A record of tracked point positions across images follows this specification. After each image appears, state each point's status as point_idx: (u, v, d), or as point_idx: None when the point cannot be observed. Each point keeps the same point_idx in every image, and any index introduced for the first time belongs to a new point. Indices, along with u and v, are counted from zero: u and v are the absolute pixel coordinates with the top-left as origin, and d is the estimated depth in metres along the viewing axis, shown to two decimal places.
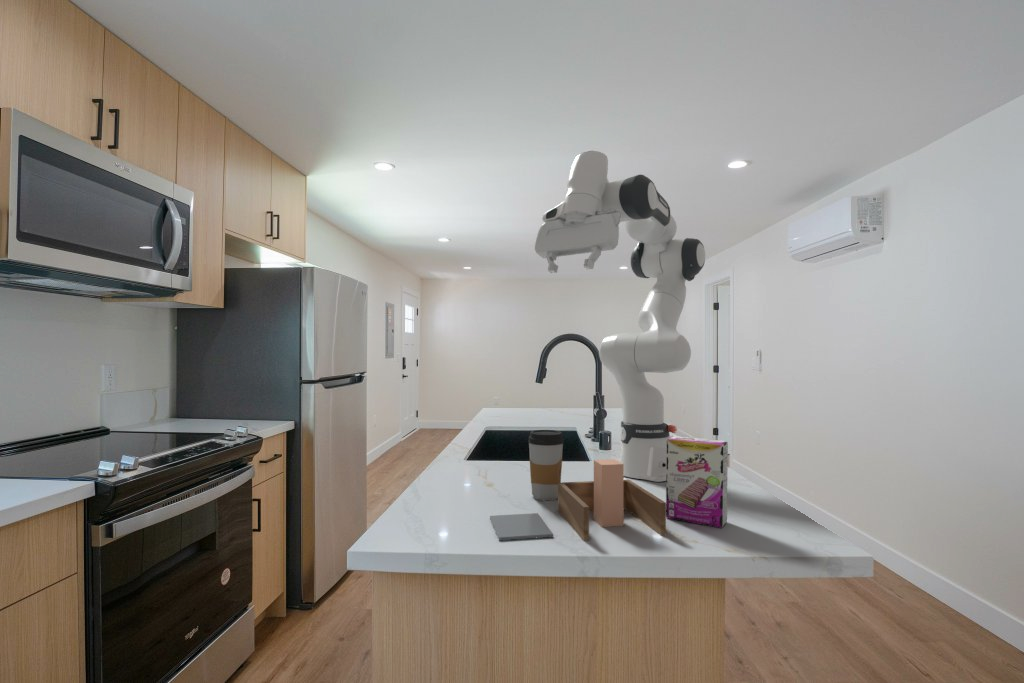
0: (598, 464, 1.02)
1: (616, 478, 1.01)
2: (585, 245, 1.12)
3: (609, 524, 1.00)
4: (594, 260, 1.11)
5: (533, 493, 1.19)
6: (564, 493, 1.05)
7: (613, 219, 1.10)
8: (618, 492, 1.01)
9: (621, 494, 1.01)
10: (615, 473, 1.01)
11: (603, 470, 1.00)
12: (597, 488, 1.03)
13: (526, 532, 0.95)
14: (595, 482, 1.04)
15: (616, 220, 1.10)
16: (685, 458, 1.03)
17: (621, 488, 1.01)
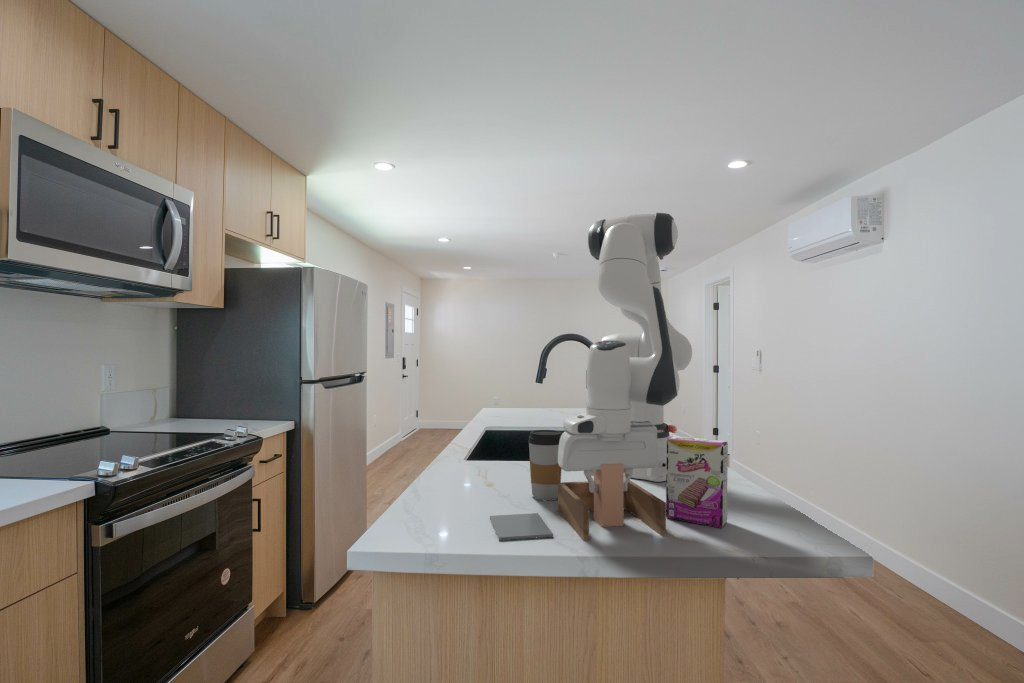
0: None
1: (616, 478, 1.01)
2: (630, 468, 1.02)
3: (609, 524, 1.00)
4: None
5: (533, 493, 1.19)
6: (564, 493, 1.05)
7: None
8: (618, 492, 1.01)
9: (621, 494, 1.01)
10: (615, 473, 1.01)
11: (603, 470, 1.00)
12: None
13: (526, 532, 0.95)
14: None
15: (655, 437, 1.04)
16: (685, 458, 1.03)
17: (621, 488, 1.01)
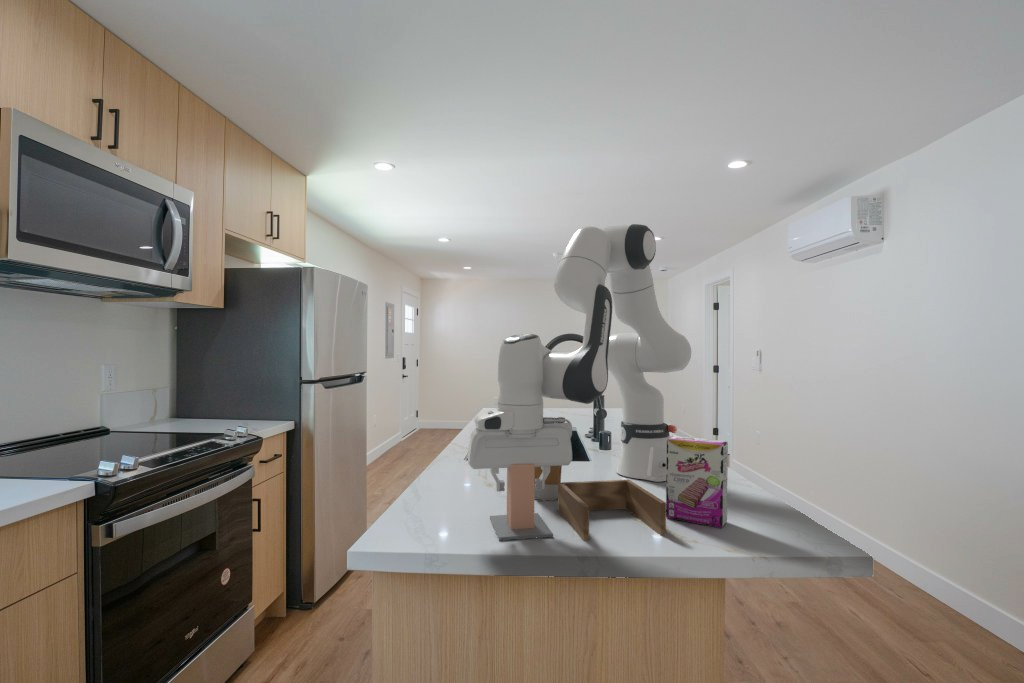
0: None
1: (526, 479, 0.98)
2: (542, 466, 0.99)
3: (519, 526, 0.97)
4: None
5: None
6: (564, 493, 1.05)
7: None
8: (529, 493, 0.98)
9: (532, 495, 0.98)
10: (526, 473, 0.98)
11: (513, 471, 0.97)
12: (508, 489, 0.99)
13: (526, 532, 0.95)
14: (507, 483, 1.00)
15: (569, 433, 1.01)
16: (685, 458, 1.03)
17: (532, 489, 0.98)
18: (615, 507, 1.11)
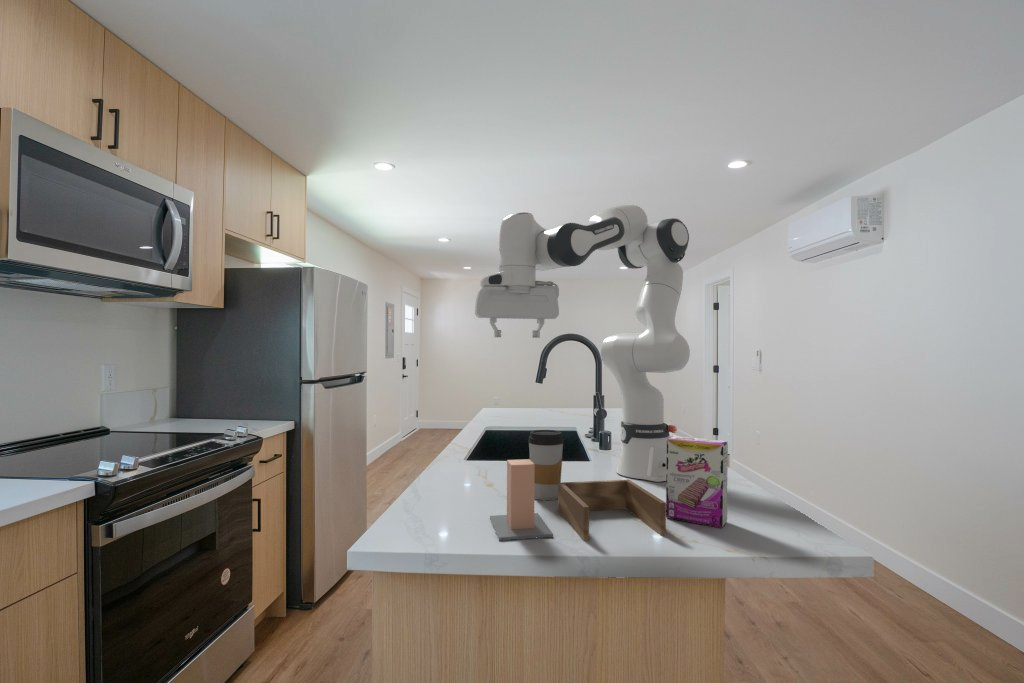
0: (509, 464, 0.99)
1: (526, 479, 0.98)
2: (535, 317, 1.23)
3: (519, 526, 0.97)
4: None
5: None
6: (564, 493, 1.05)
7: None
8: (529, 493, 0.98)
9: (532, 495, 0.98)
10: (526, 473, 0.98)
11: (513, 471, 0.97)
12: (508, 489, 0.99)
13: (526, 532, 0.95)
14: (507, 483, 1.00)
15: (557, 294, 1.26)
16: (685, 458, 1.03)
17: (532, 489, 0.98)
18: (615, 507, 1.11)
